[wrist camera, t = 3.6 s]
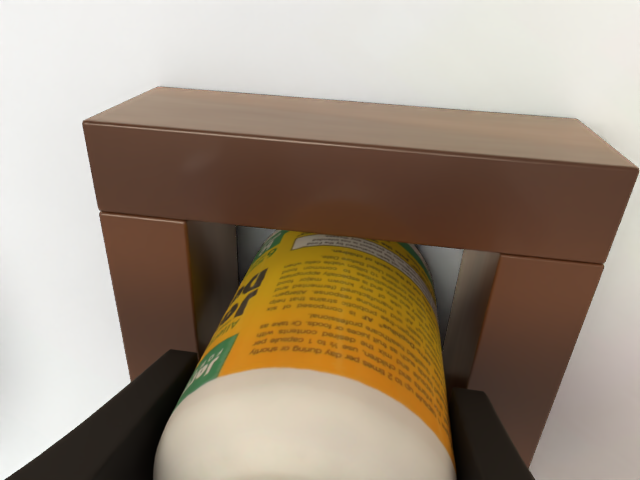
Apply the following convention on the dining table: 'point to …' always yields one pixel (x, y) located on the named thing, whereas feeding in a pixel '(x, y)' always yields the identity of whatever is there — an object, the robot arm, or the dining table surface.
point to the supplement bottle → (319, 371)
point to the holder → (363, 219)
